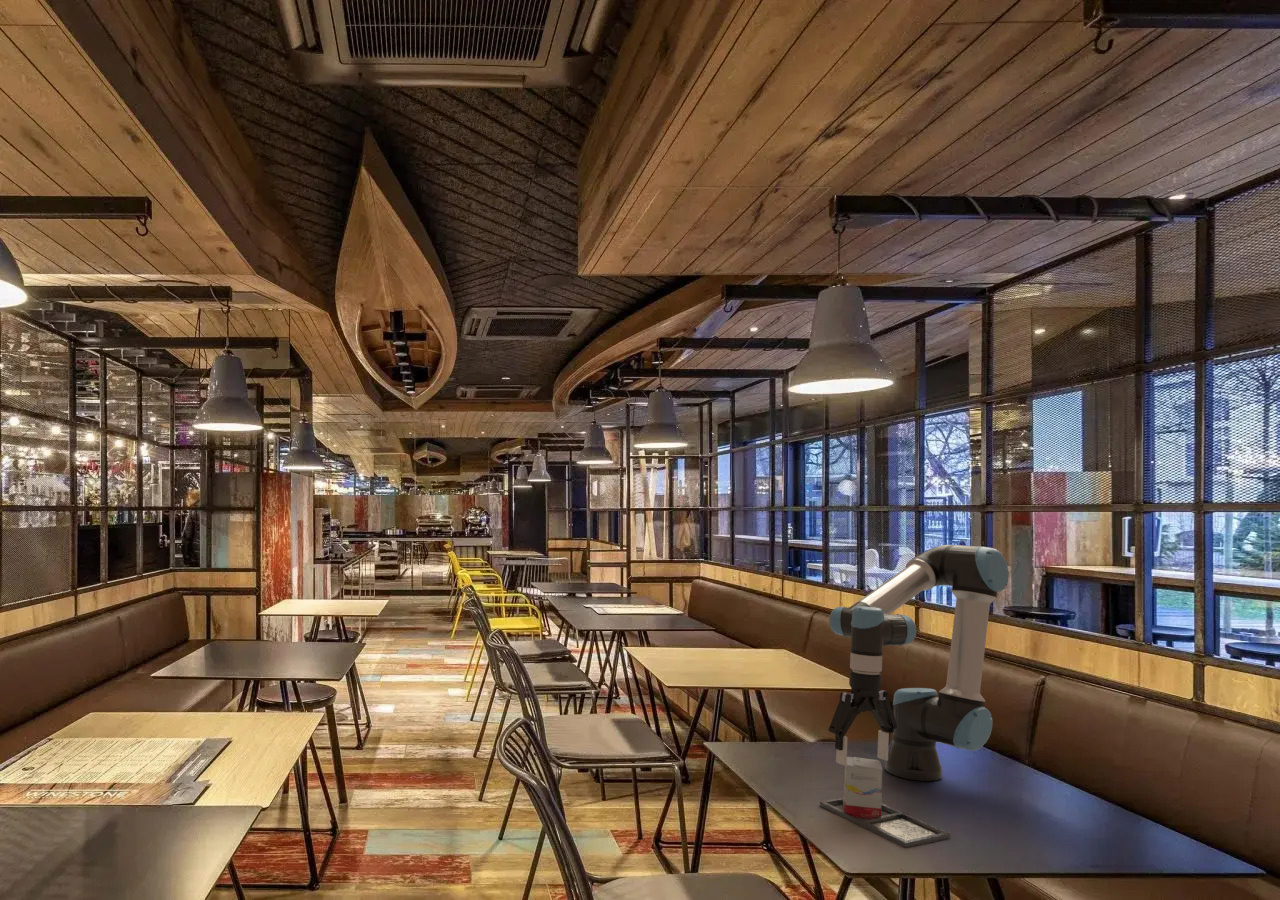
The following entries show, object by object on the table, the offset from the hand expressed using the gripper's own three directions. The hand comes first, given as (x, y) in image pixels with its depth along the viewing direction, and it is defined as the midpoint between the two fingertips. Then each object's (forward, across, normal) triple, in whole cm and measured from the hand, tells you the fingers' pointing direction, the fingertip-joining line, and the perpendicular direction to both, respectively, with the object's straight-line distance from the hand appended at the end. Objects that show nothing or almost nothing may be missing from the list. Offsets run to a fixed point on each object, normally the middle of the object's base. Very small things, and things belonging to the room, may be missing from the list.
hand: (862, 761), depth 197 cm
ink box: (+12, -1, 0) cm, 12 cm away
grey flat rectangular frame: (+12, -1, +6) cm, 13 cm away
